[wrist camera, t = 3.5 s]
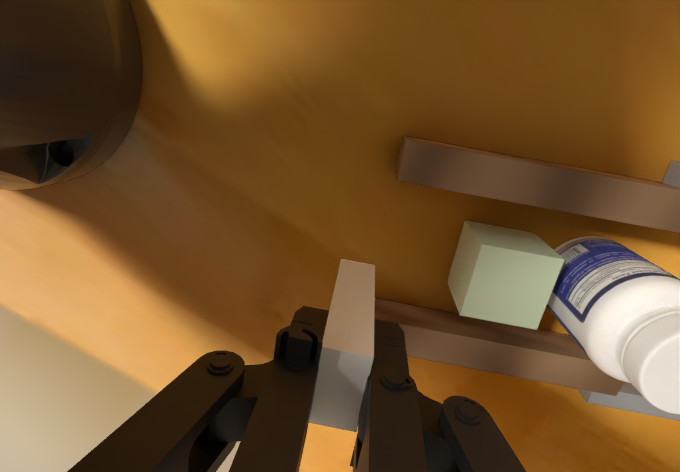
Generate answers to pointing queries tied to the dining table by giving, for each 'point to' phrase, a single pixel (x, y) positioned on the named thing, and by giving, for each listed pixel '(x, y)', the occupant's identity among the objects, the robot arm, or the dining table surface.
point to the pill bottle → (622, 315)
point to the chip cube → (503, 274)
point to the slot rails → (535, 190)
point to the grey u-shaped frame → (628, 394)
